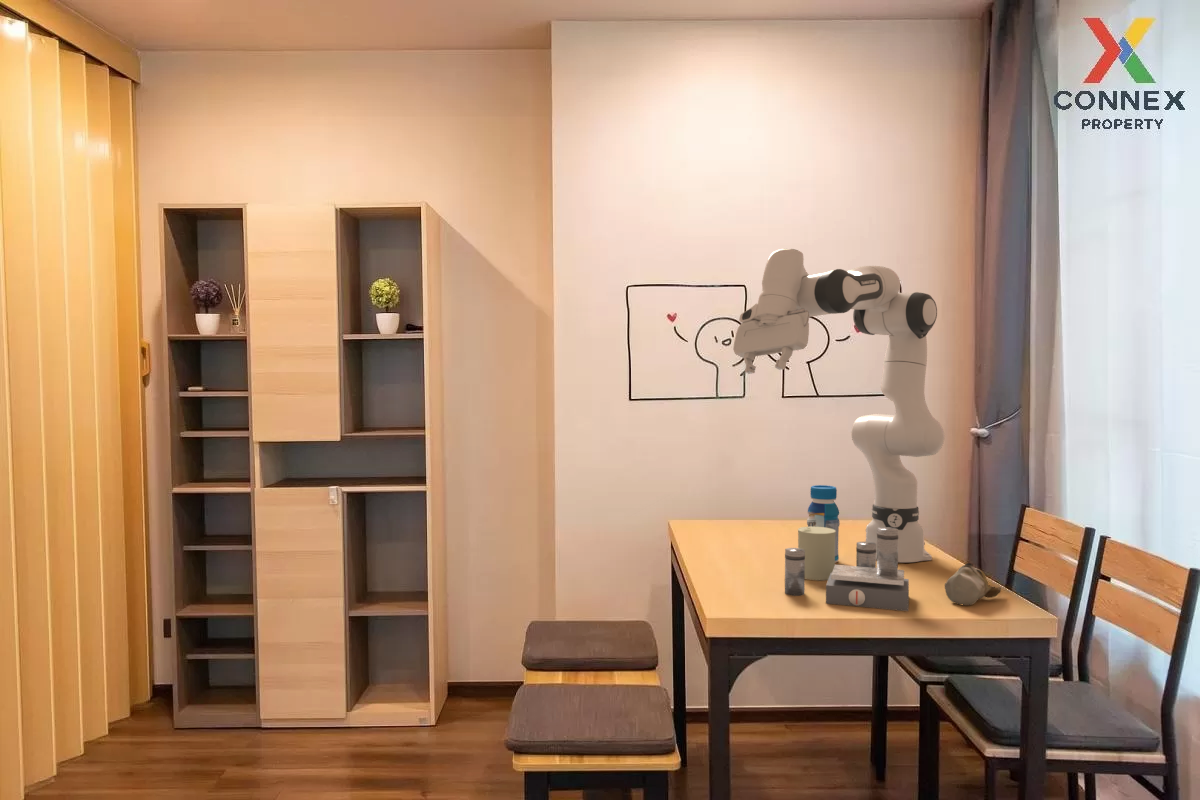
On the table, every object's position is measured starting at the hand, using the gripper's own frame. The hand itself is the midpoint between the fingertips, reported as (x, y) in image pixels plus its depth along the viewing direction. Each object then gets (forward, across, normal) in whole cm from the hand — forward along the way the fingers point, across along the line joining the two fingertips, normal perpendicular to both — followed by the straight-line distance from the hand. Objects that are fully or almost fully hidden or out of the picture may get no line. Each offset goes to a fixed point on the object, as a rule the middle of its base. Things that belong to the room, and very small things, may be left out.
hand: (764, 370), depth 185 cm
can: (+40, +10, -39) cm, 57 cm away
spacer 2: (+40, -3, -42) cm, 58 cm away
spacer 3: (+38, -15, -33) cm, 52 cm away
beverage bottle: (+34, +20, -52) cm, 65 cm away
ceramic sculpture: (+39, -24, -51) cm, 69 cm away
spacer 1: (+46, +2, -24) cm, 52 cm away
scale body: (+44, -11, -33) cm, 56 cm away
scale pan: (+39, -12, -31) cm, 51 cm away
